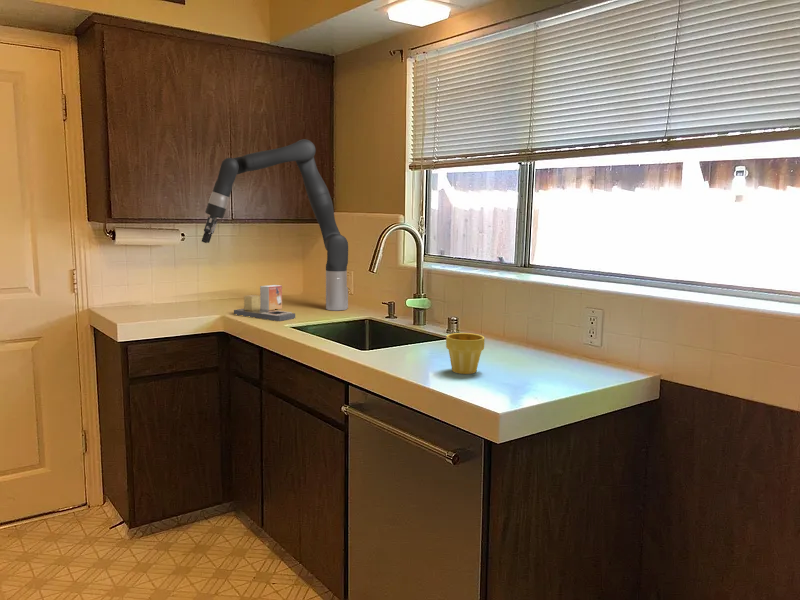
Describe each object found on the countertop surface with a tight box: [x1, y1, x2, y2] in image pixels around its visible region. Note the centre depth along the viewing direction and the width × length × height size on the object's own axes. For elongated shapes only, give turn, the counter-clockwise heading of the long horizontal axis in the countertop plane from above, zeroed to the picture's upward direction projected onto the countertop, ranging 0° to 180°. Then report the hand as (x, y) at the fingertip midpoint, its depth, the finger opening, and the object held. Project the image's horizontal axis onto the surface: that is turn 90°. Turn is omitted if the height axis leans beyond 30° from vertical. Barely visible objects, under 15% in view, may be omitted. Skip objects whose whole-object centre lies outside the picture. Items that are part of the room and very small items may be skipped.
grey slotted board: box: [233, 308, 296, 322], centre depth 264 cm, size 9×26×2 cm, turn 56°
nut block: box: [243, 294, 260, 312], centre depth 267 cm, size 4×4×8 cm
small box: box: [259, 284, 283, 311], centre depth 283 cm, size 8×6×10 cm
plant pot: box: [445, 332, 486, 375], centre depth 176 cm, size 10×10×10 cm
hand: (205, 242), depth 266 cm, fingers open, 8 cm apart
